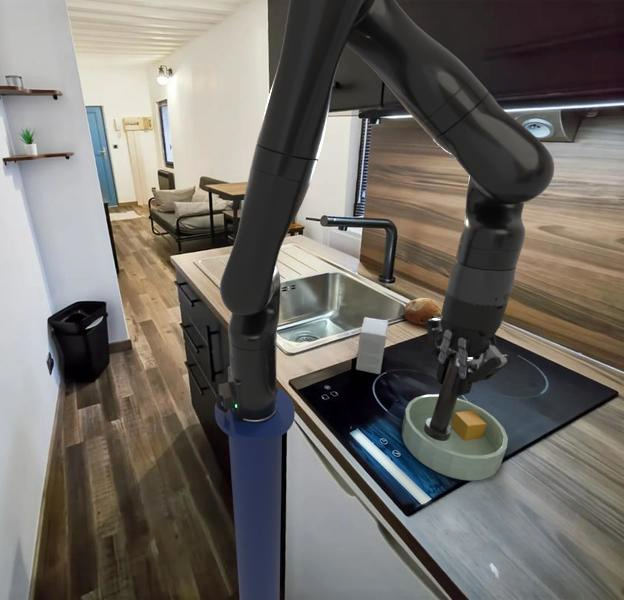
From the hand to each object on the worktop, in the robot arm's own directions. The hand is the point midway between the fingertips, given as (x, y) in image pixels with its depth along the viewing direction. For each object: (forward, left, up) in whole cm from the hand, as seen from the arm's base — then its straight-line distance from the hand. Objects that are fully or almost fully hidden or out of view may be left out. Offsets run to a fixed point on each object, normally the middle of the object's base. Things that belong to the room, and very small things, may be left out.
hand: (451, 387), depth 60 cm
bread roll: (+33, +40, -13) cm, 53 cm away
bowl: (+3, 0, -13) cm, 14 cm away
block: (+7, +1, -13) cm, 15 cm away
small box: (+5, +26, -13) cm, 30 cm away
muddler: (-1, 0, -9) cm, 10 cm away
